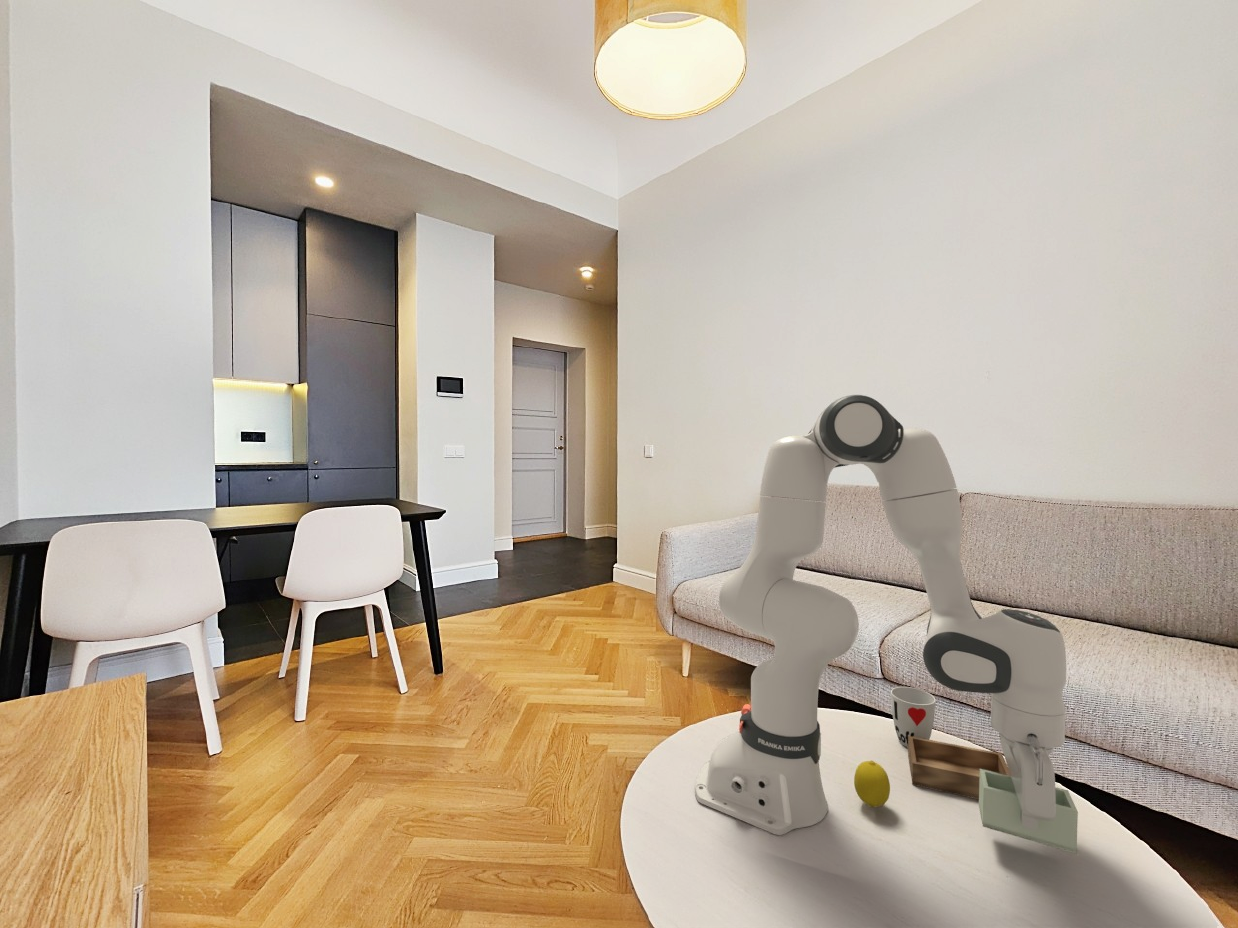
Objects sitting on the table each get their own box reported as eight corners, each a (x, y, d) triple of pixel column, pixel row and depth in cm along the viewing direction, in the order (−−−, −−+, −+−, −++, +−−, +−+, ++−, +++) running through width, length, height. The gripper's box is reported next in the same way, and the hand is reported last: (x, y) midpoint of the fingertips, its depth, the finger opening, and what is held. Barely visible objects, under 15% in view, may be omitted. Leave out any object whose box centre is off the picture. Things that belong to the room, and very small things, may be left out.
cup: (884, 742, 111) (884, 694, 111) (899, 728, 116) (899, 683, 116) (927, 758, 105) (927, 708, 105) (940, 743, 110) (941, 695, 110)
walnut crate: (912, 784, 97) (912, 762, 97) (908, 755, 106) (908, 735, 106) (1015, 807, 91) (1015, 784, 90) (1001, 774, 100) (1001, 753, 99)
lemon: (853, 812, 90) (853, 766, 90) (854, 793, 95) (854, 749, 95) (890, 821, 87) (890, 774, 87) (889, 801, 92) (889, 756, 92)
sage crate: (982, 826, 80) (983, 787, 80) (978, 805, 85) (979, 768, 85) (1076, 853, 75) (1077, 811, 75) (1066, 829, 80) (1067, 790, 80)
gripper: (1071, 761, 69) (1069, 866, 70) (1038, 700, 87) (1036, 783, 88) (1012, 747, 72) (1009, 848, 73) (992, 691, 90) (990, 772, 91)
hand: (1024, 812), depth 80 cm, fingers closed on sage crate, 5 cm apart
